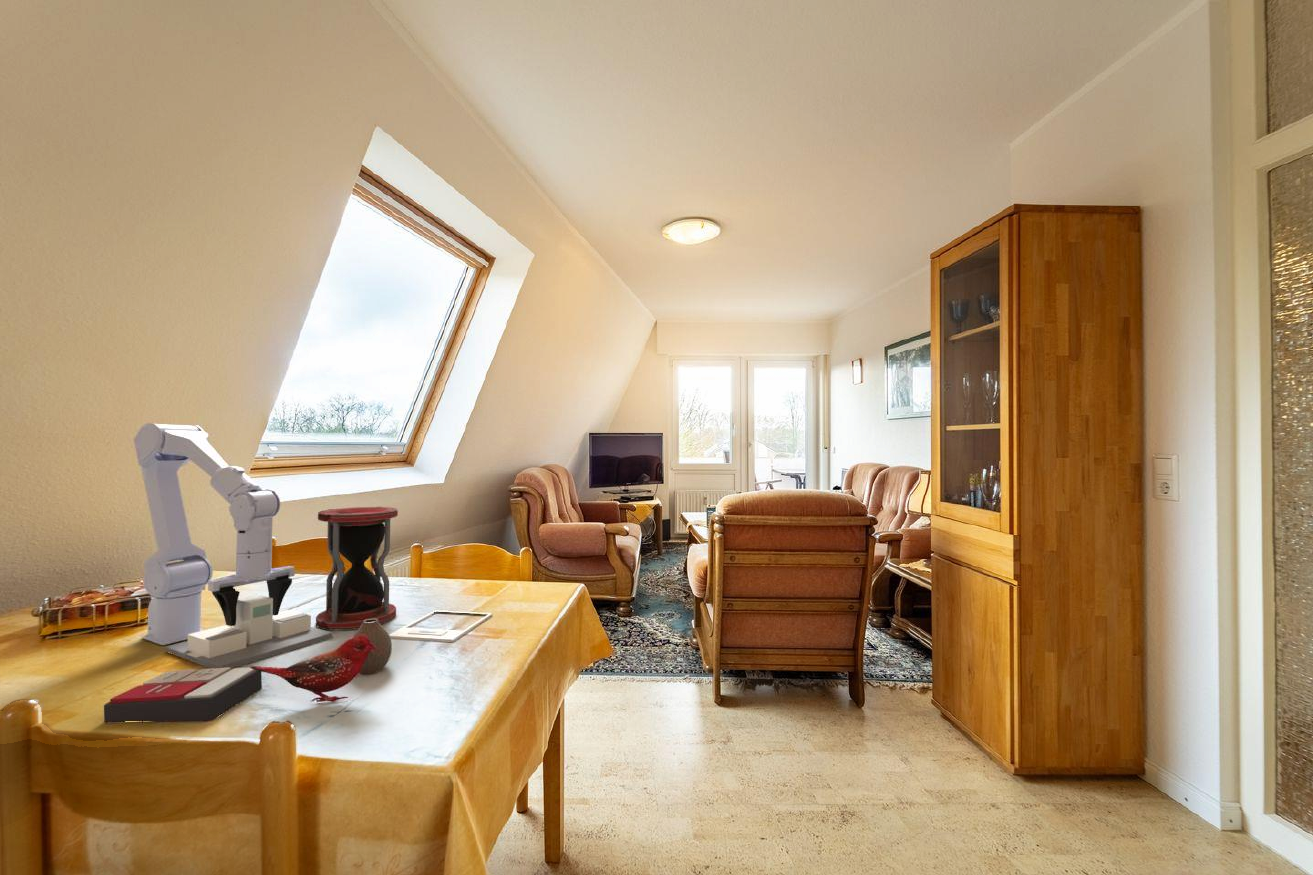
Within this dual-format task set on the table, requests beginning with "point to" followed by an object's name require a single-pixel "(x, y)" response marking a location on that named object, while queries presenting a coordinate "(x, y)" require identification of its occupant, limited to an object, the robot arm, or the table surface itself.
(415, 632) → the photo frame
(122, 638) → the table surface
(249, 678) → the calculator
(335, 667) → the decorative bird figurine
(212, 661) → the rail board
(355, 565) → the hourglass
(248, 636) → the module block
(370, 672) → the vase
